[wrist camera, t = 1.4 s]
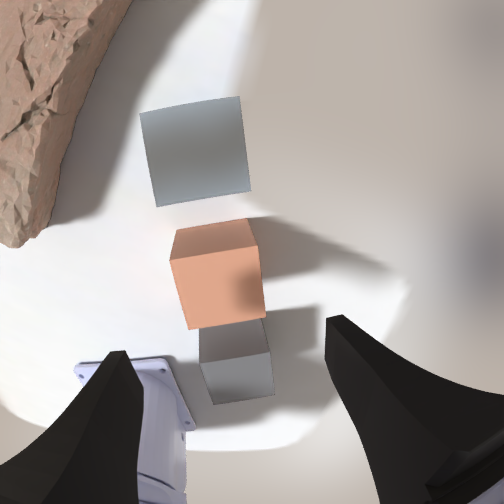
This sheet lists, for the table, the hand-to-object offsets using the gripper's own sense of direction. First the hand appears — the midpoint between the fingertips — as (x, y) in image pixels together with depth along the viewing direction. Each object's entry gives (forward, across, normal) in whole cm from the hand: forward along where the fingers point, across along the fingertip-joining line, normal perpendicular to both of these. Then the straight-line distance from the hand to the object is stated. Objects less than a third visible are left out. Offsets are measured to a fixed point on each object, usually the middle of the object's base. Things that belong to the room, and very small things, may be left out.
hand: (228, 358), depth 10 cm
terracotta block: (+9, 0, 0) cm, 9 cm away
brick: (+9, +9, -12) cm, 18 cm away
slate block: (+9, 0, -6) cm, 11 cm away
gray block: (+9, 0, +7) cm, 11 cm away
